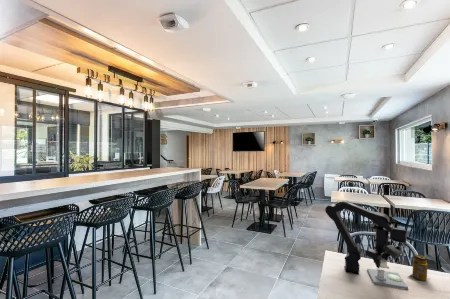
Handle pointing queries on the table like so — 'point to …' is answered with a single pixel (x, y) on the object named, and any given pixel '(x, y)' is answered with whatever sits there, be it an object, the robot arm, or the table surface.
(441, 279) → the table surface
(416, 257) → the condiment
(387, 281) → the post board
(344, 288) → the table surface
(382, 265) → the cream rounded dome
